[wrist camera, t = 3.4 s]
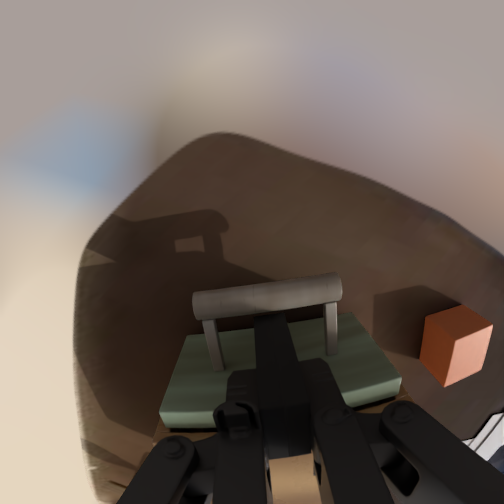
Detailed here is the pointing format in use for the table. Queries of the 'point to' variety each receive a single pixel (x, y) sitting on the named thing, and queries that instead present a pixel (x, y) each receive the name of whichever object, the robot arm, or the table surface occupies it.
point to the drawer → (243, 348)
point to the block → (454, 343)
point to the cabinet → (285, 461)
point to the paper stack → (489, 437)
